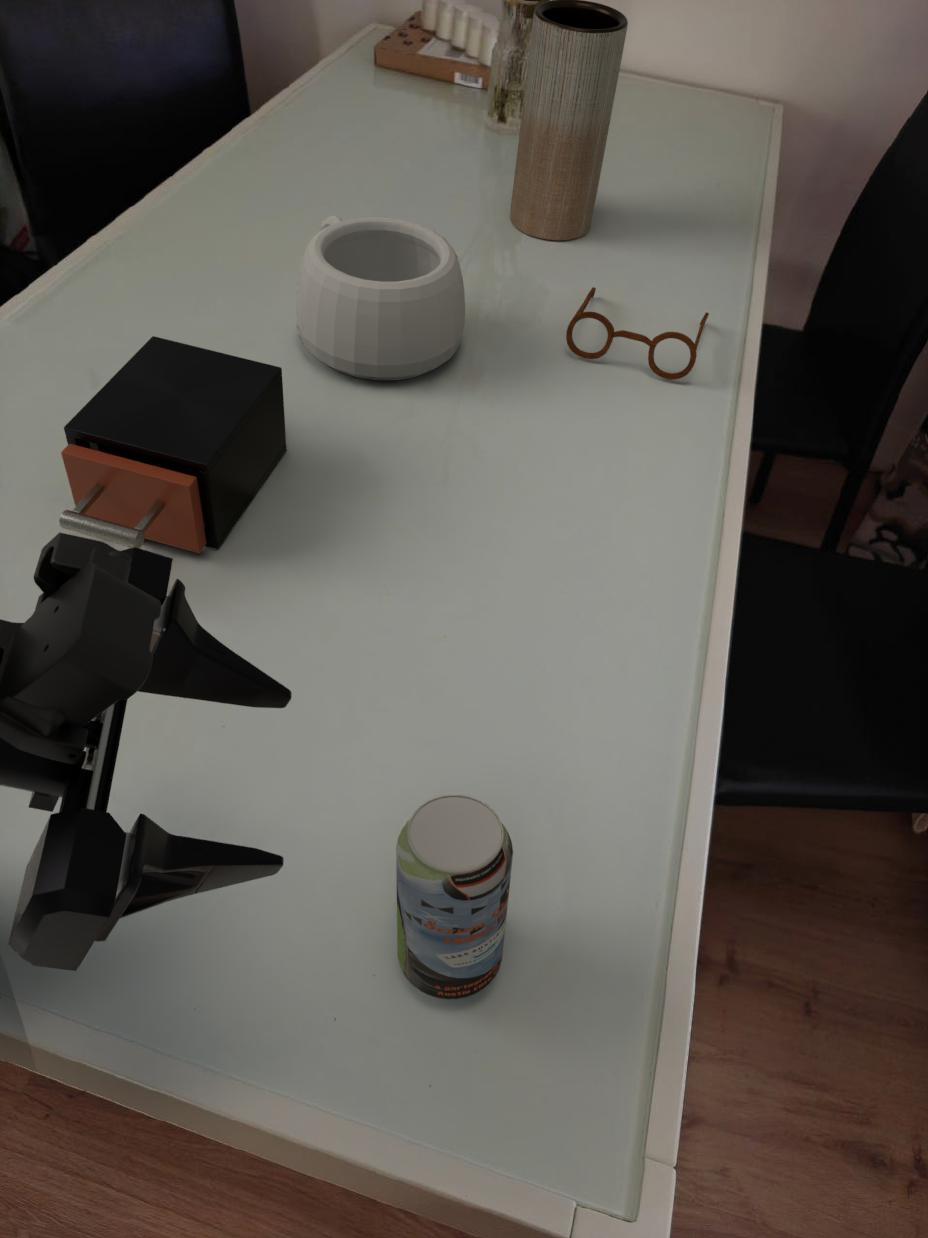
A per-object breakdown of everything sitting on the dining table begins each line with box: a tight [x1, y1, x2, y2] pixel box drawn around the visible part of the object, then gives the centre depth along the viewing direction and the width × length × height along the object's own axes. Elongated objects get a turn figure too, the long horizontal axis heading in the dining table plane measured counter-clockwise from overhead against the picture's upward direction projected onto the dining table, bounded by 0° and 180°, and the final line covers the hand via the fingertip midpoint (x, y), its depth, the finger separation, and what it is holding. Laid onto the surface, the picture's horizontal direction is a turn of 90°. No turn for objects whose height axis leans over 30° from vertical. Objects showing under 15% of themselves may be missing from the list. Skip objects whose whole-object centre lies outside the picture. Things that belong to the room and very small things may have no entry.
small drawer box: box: [63, 335, 288, 551], centre depth 81 cm, size 14×12×9 cm
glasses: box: [565, 286, 710, 381], centre depth 103 cm, size 13×13×5 cm
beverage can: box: [395, 794, 514, 1000], centre depth 54 cm, size 6×7×12 cm
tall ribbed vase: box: [509, 0, 629, 242], centre depth 113 cm, size 10×10×23 cm
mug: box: [295, 214, 466, 381], centre depth 98 cm, size 21×17×10 cm
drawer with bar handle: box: [58, 442, 207, 554], centre depth 78 cm, size 17×10×7 cm, turn 164°
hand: (284, 777), depth 47 cm, fingers open, 9 cm apart
